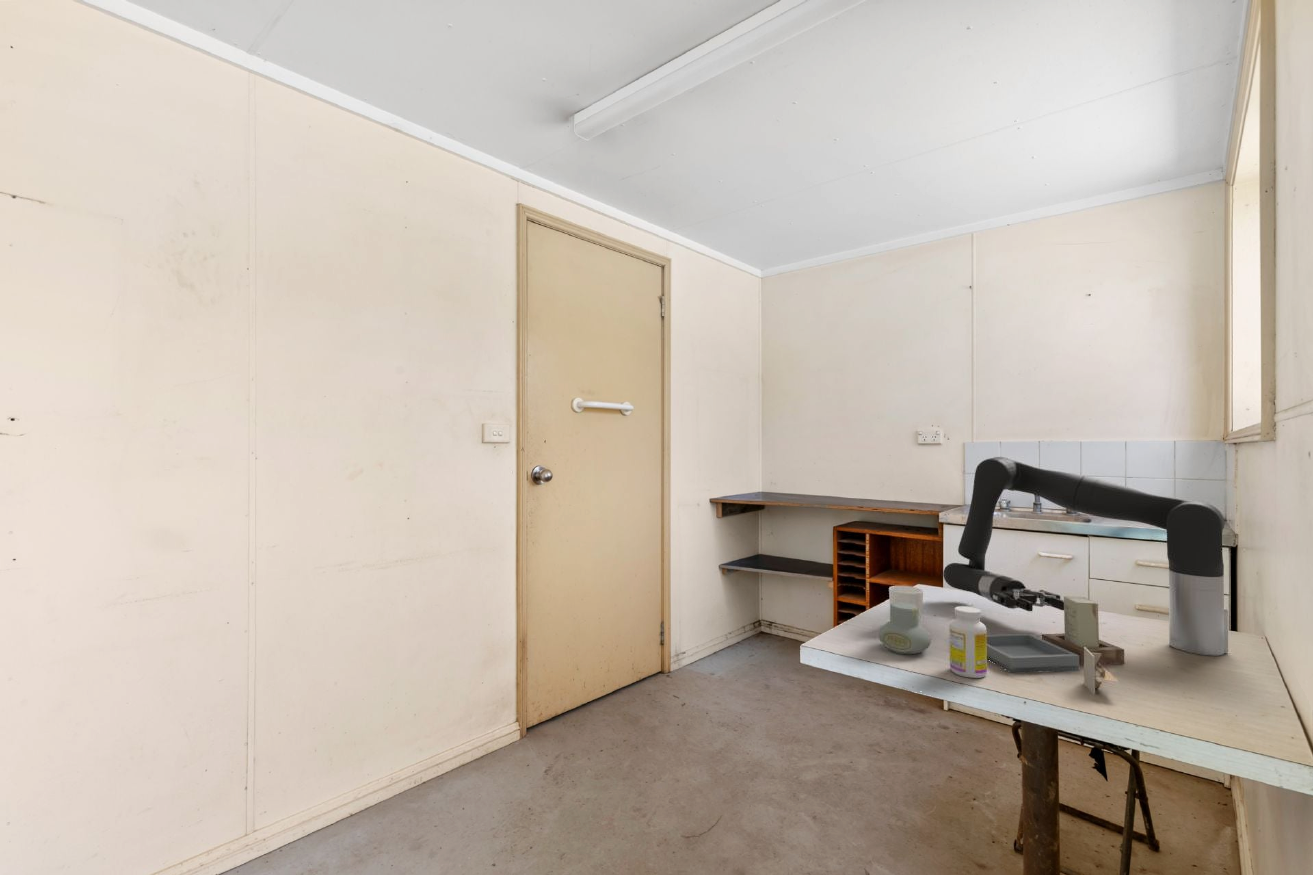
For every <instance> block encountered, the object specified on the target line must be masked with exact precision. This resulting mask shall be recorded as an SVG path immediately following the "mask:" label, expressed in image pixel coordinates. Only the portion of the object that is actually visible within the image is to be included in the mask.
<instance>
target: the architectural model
mask: <svg viewBox="0 0 1313 875" xmlns="http://www.w3.org/2000/svg"><path fill="white" fill-rule="evenodd" d="M1100 656H1101V654H1099V653H1090V651H1089V650H1088V649H1087V648H1086V647H1084V665H1083V676H1084V677H1083V684H1084V685H1085V684H1086V685H1085V686H1086V687H1087V689H1089V691H1090V692H1091V693H1092V694H1093V695H1096V689H1099V688H1100V686H1101V685H1102V684H1103V683H1108V684H1109V683H1110V684H1117V685H1118V684H1119V681H1118V680H1117V679H1116V678H1115V677H1114V675H1112V674H1111V673H1110V671H1108V670H1107V669H1106V668H1104V666H1102V665H1100V664H1099V663H1098V662H1099V661H1098V660H1100V659H1099V658H1100ZM1096 673H1098V674H1099V676H1096V675H1097V674H1096Z"/></svg>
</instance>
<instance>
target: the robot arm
mask: <svg viewBox="0 0 1313 875" xmlns="http://www.w3.org/2000/svg"><path fill="white" fill-rule="evenodd" d="M1004 490H1007V491H1008V490H1009V491H1016V492H1021V493H1026V494H1030V495H1035V496H1037V497H1039V498H1042V499H1045V500H1047V501H1048V502H1050V503H1053V504H1055V505H1057V506H1060V507H1062V508H1065V509H1067V510H1070V511H1075V512H1077V513H1081V514H1085V515H1089V516H1093V517H1099V518H1102V519H1105V518H1106V519H1111V520H1117V521H1118V520H1120V521H1128V522H1136V523H1141V524H1146V525H1150V526H1153V527H1156V528H1158V529H1159V528H1160V529H1163V530H1166V555H1167V559H1168V560H1167V562H1168V590H1169V591H1168V603H1169V604H1168V606H1169V608H1168V610H1169V611H1168V616H1169V617H1168V620H1169V621H1168V623H1169V624H1168V630H1169V637H1168V638H1169V640H1168V641H1169V645H1170V646H1171V647H1173V648H1174V649H1176V650H1179V649H1180V650H1179V651H1183V652H1187V653H1192V654H1198V655H1202V656H1223V655H1224V654H1226V653H1229V611H1228V609H1226V608H1225V590H1224V589H1225V587H1224V586H1225V584H1224V583H1225V580H1224V578H1225V577H1224V575H1225V573H1224V572H1225V569H1224V568H1225V566H1224V556H1223V530H1224V528H1225V525H1226V524H1225V518H1224V515H1223V514H1222V511H1220V510H1219V509H1218V508H1217V507H1216V506H1214V505H1212V504H1210V503H1208V502H1204V501H1200V500H1190V499H1184V498H1176V497H1170V496H1164V495H1159V494H1158V495H1157V494H1152V493H1148V492H1145V491H1143V490H1142V491H1141V490H1138V489H1135V488H1132V487H1129V486H1125V485H1122V484H1118V483H1114V482H1111V481H1107V480H1103V479H1099V478H1094V477H1090V476H1086V475H1081V474H1075V473H1070V472H1069V473H1068V472H1065V471H1064V472H1063V471H1057V470H1051V469H1045V468H1039V467H1036V466H1033V465H1029V464H1026V463H1023V462H1020V461H1017V460H1014V459H1011V458H1008V457H1003V456H995V457H990V458H987V459H985V460H982V461H981V462H980V463H979V464H977V466H976V468H975V472H974V478H973V488H972V495H971V501H970V507H969V510H968V511H969V512H968V515H967V519H966V522H965V525H964V529H963V533H962V535H961V538H960V542H959V544H958V550H957V552H958V554H959V555H960V556H961V557H963V558H965V559H967V560H968V561H969V562H968V564H967V563H960V562H951V563H949V564H947V565H946V566H945V567H944V569H943V573H942V576H943V579H944V581H945V583H946V584H947V585H948V586H950V587H951V588H953V589H957V590H961V591H964V592H969V593H973V594H976V595H978V596H980V597H983V598H985V599H987V600H989V601H991V602H993V603H995V604H998V605H1000V606H1003V607H1006V608H1008V609H1019V608H1020V609H1022V610H1024V611H1027V612H1033V610H1034V609H1033V606H1035V607H1038V608H1039V607H1040V608H1042V607H1045V606H1047V607H1052V608H1055V609H1057V610H1060V611H1064V599H1061V595H1060V594H1056V593H1053V592H1049V591H1046V590H1043V589H1039V590H1037V591H1036V590H1032V589H1031V588H1027V587H1026V586H1025V585H1024V583H1023V582H1022V581H1021V580H1019V579H1016V578H1013V577H1009V576H1006V575H1004V574H1000V573H994V572H992V571H991V572H990V571H988V570H986V553H987V550H988V547H989V544H990V541H991V539H992V538H991V537H992V533H993V527H994V526H993V525H994V514H995V510H996V506H997V503H998V501H999V499H1000V497H1001V495H1002V494H1003V491H1004ZM1038 600H1039V602H1038Z"/></svg>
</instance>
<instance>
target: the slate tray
mask: <svg viewBox="0 0 1313 875" xmlns="http://www.w3.org/2000/svg"><path fill="white" fill-rule="evenodd" d="M988 660H990V661H991V662H990V661H989V662H990V663H992V662H993V663H992V664H994V663H995V664H996V666H997V665H998V667H999V666H1000V668H1001V667H1002V668H1001V669H1003V670H1004V669H1006V670H1005V671H1006V672H1008V671H1009V672H1008V673H1010V674H1017V673H1016V672H1025V673H1040V672H1039V671H1043V672H1042V673H1045V672H1044V671H1050V672H1068V671H1069V672H1070V671H1073V672H1074V671H1080V665H1079V655H1077V654H1074V653H1072V652H1070V651H1068V650H1065V649H1063V648H1061V647H1059V646H1056V645H1054V644H1052V643H1049V642H1047V641H1045V640H1043V639H1042V638H1041V637H1038V636H1036V635H1034V634H1031V633H1018V634H1016V633H1015V634H1012V633H1010V634H1009V633H1008V634H987V661H988ZM995 664H994V665H995Z"/></svg>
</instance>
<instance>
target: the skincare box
mask: <svg viewBox="0 0 1313 875" xmlns="http://www.w3.org/2000/svg"><path fill="white" fill-rule="evenodd" d="M1063 601H1064V610H1063V614H1064V615H1063V616H1064V619H1063V620H1064V624H1063V625H1064V633H1065V641H1068V642H1070V643H1072V644H1075V645H1077V646H1080V647H1082V648H1084V647H1086V648H1099V640H1100V635H1099V634H1100V633H1099V632H1100V631H1099V628H1100V626H1099V604H1098V602H1097V601H1094V600H1091V599H1089V598H1086V597H1084V596H1083V597H1082V596H1068V595H1065V596H1063Z"/></svg>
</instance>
